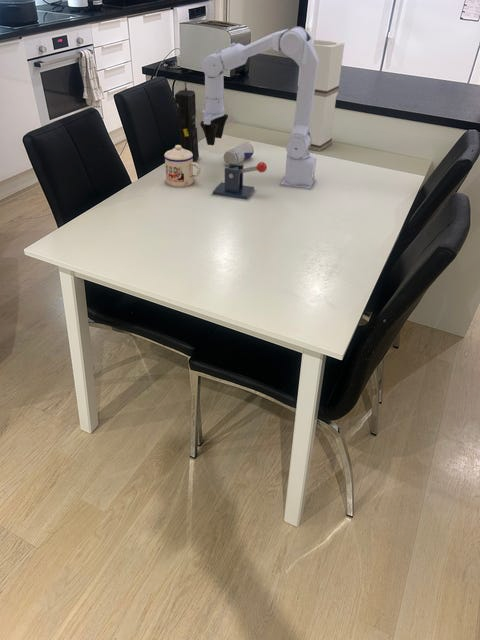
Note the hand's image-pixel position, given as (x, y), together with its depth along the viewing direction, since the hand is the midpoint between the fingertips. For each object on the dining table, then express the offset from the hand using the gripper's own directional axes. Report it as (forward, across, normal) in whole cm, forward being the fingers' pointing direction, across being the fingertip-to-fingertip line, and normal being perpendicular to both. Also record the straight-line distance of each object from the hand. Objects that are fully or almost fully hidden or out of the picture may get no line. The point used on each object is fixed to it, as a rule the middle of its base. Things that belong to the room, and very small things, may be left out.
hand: (214, 141), depth 166 cm
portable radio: (+10, -6, -12) cm, 17 cm away
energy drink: (+7, -6, +3) cm, 10 cm away
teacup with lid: (+10, +13, -6) cm, 18 cm away
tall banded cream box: (+10, -40, +26) cm, 49 cm away
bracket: (+10, +15, +12) cm, 21 cm away
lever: (+4, +15, +16) cm, 22 cm away
